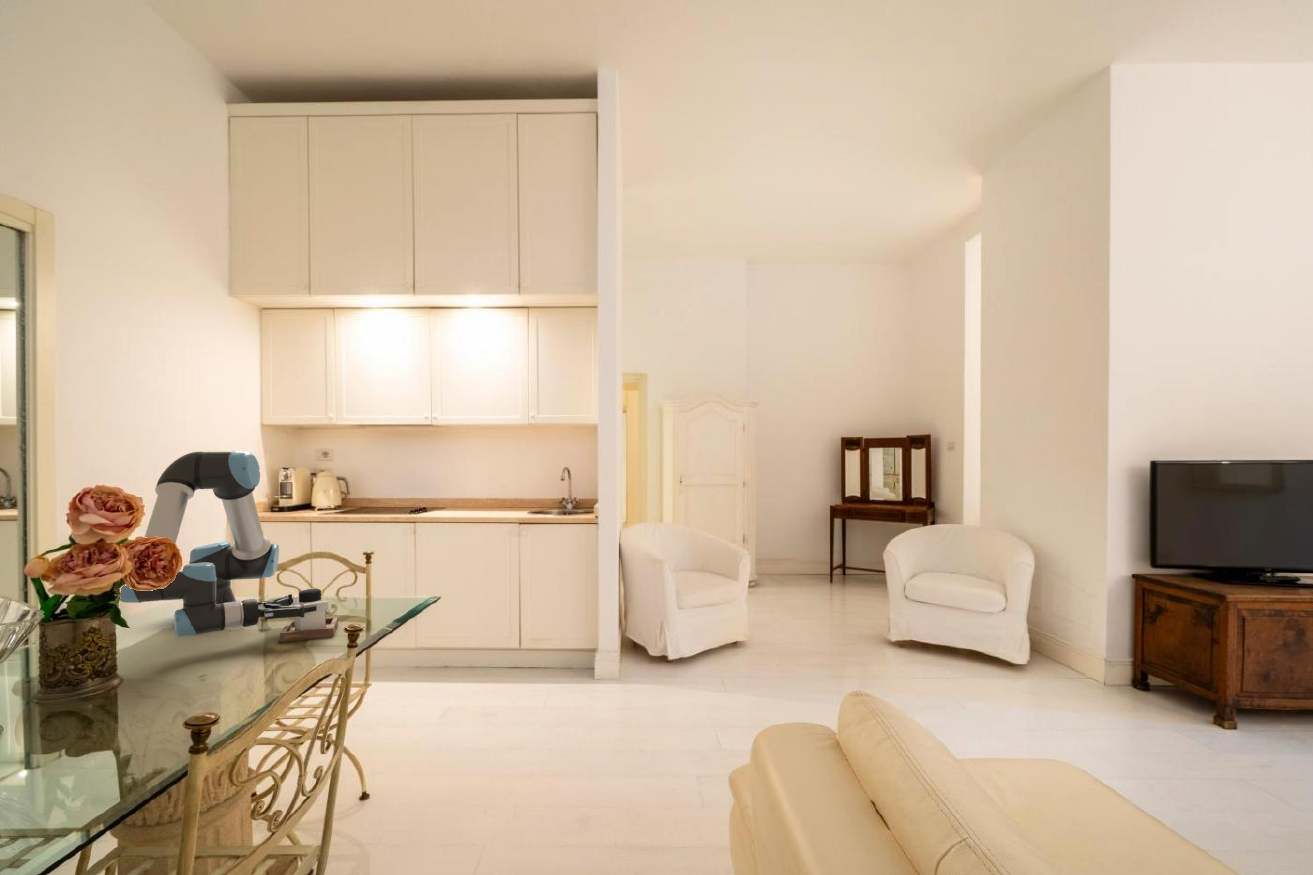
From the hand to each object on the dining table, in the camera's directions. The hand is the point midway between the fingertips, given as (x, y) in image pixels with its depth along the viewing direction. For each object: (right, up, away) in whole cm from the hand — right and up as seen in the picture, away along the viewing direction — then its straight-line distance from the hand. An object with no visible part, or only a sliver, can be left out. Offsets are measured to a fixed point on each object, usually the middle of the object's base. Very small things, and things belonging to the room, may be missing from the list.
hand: (321, 601), depth 202 cm
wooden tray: (-2, -9, -2) cm, 10 cm away
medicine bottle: (-2, -8, -2) cm, 9 cm away
